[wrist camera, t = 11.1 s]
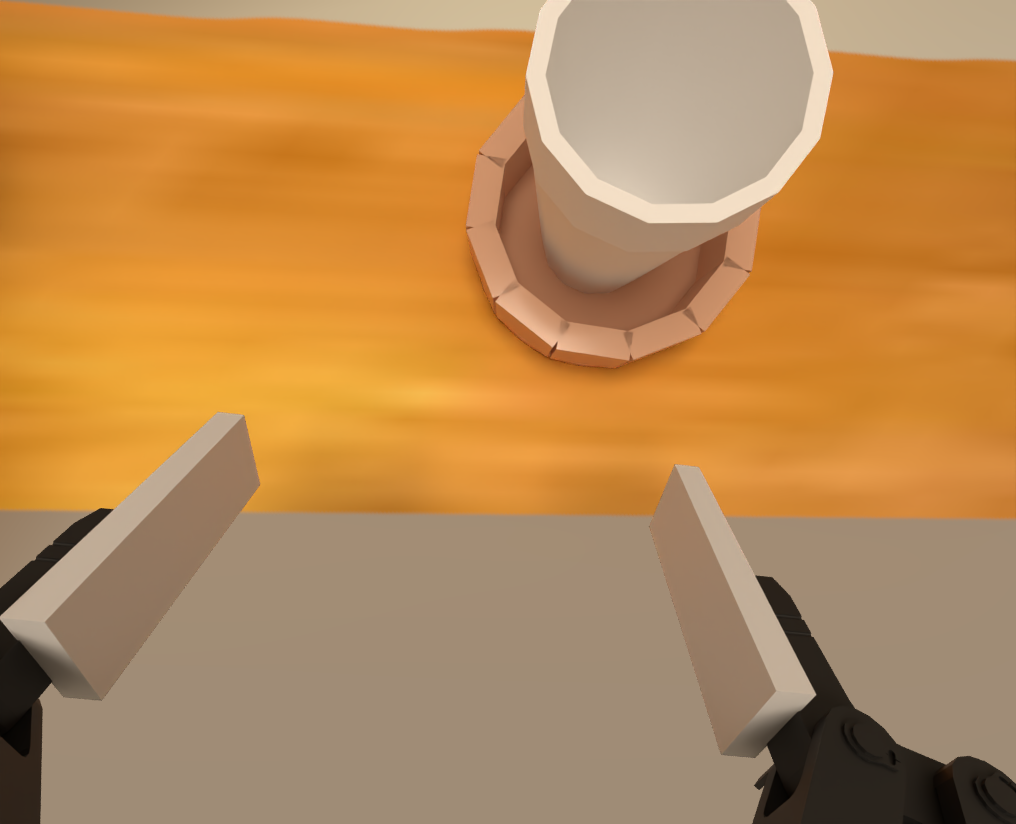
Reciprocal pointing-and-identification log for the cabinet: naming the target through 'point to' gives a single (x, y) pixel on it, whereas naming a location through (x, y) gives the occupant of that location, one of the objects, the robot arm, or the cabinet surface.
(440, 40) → the cabinet surface
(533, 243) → the bowl
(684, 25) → the foam cup
